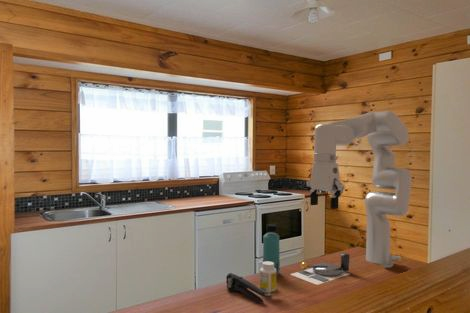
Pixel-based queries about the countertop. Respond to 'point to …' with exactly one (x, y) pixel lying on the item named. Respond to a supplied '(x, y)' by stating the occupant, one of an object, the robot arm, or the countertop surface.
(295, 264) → the countertop surface
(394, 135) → the robot arm
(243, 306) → the countertop surface
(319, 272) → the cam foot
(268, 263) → the supplement bottle
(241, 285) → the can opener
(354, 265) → the countertop surface
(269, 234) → the beverage bottle
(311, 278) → the stand
